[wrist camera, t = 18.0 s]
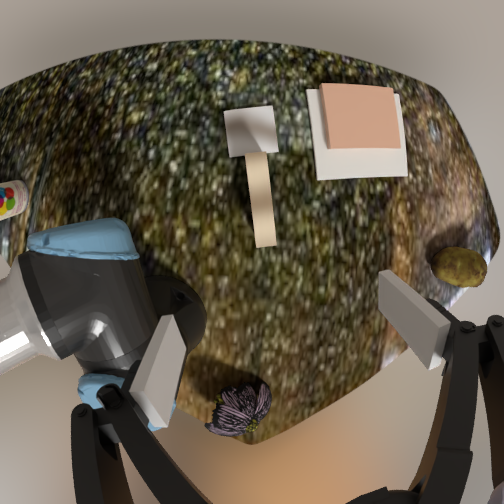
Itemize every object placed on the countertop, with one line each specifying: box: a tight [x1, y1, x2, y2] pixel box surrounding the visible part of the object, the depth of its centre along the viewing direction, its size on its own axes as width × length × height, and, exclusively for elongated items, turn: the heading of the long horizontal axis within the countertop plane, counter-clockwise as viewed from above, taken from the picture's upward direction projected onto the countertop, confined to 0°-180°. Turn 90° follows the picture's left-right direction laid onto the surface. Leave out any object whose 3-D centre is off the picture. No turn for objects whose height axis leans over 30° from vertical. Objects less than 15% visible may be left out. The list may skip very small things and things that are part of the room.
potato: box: [431, 246, 487, 288], centre depth 40 cm, size 8×13×8 cm, turn 70°
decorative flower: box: [205, 382, 272, 437], centre depth 48 cm, size 14×12×15 cm
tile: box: [319, 83, 401, 149], centre depth 34 cm, size 12×2×10 cm
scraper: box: [224, 106, 278, 248], centre depth 35 cm, size 19×7×6 cm, turn 7°
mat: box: [306, 89, 408, 180], centre depth 36 cm, size 16×14×1 cm
